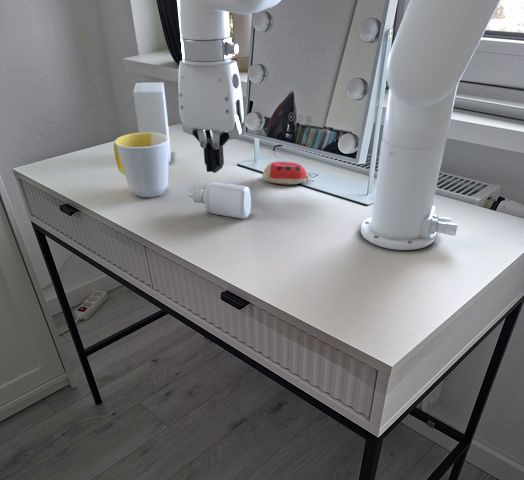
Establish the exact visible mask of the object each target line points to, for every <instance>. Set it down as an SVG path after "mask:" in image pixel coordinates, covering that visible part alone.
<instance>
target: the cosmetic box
mask: <svg viewBox="0 0 524 480" xmlns="http://www.w3.org/2000/svg"><path fill="white" fill-rule="evenodd" d="M132 93H133V99H134V106H135V114H136V121H137V128H138V133H141V132H152V133H160V134H163V135H166V136H167V137H168V138H169V162H168V164H171V160H172V158H171V157H172V149H171V148H172V147H171V139H170V129H169V119H168V112H167V111H168V110H167V101H166V92H165V84H164V82H163V81H159V82H136V83H135V86H134V88H133V91H132Z"/></svg>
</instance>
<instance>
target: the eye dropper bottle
mask: <svg viewBox="0 0 524 480" xmlns="http://www.w3.org/2000/svg"><path fill="white" fill-rule="evenodd" d="M187 196H188V197H189V198H191V199H192V200H193V202H194V203H198V204H204V206H205V208H206V210H207V211H208V212H209V213H210V214H212V215H217V216H224V217H228V218H229V217H230V218H236V219H243V220H246V219H247V218H248V217H249V216H250V214H251V209H252V197H251V191H250V188H249V187H248V186H246V185H241V184H240V185H239V184H232V183H225V182H216V181H211V182H209V183H207V184H206V185H205V189H201V188H195V189H194V190H193V191H192V192H188V193H187Z"/></svg>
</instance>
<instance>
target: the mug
mask: <svg viewBox="0 0 524 480" xmlns="http://www.w3.org/2000/svg"><path fill="white" fill-rule="evenodd" d="M113 152H114V157H115V158H114V159H115V162H116V166H117V169H118V171H119V172H120V173H121V174H122V175H124V176H125V179H126V182H127V186H128V188H129V189H130V191H132V193H133V194H135V195H136V196H138V197H140V198H154V197H158V196H161V195H163V193H164V192H165V191H166V189H167V188H168V186H169V163H168V162H169V138H168V137H167V136H166V135H163V134H160V133H152V132H141V133H139V132H132V133H127V134H124V135H121V136H119V137H117V138H116V139H115V140H114V142H113Z"/></svg>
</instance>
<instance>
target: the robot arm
mask: <svg viewBox="0 0 524 480" xmlns="http://www.w3.org/2000/svg"><path fill="white" fill-rule="evenodd" d="M281 1H282V0H176V3H177V13H178V25H179V33H180V43H181V54H182V59H181V60H180V61H179V66H178V80H177V81H178V91H177V92H178V107H179V108H178V109H179V117H180V121H181V123H182V131H183V132H184V133H186V134H188V135H191V136H194V138H195V139H196V140H197V141H198V143H199V147H201V148H202V149H203V159H204V165H205V168H206V172H207V173H214V174H216V173H218V172H219V171H220V170H222V169H223V166H224V163H225V159H224V158H225V157H224V146H225V145H226V143H227V142H228V141H229V140H236V139H238V138H240V137H242V136H243V131H242V127H241V125H243V124H244V121H245V109H244V97H243V89H242V82H241V77H240V71H239V67H238V63H237V61H236V59H232V58H233V55H237V54H239V45H238V43H234V42H232V37H231V29H230V13H232V14H236V15H243V16H244V15H245V16H248V15H254V14H257V13H260V12H262V11H265V10H267V9H268V10H269V9H271V8H273V7H275V6H277V5H278V4H279V3H280V2H281ZM500 1H501V0H409V1H408V4H407V7H406V9H405V11H404V15H403V17H402V20H401V22H400V25H399V27H398V30H397V32H396V35H395V38H394V40H393V42H392V44H391V47H390V50H389V52H388V54H387V55H388V56H387V59H386V67H385V76H386V82H387V85H388V93H387V99H386V108H385V114H384V119H383V120H384V122H383V130H382V135H381V143H380V149H379V158H378V163H377V164H378V166H377V173H376V180H375V188H374V195H373V203H372V209H371V210H372V211H371V216H368V217H367V218H365V219H364V220H363V221H362V223H361V225H360V233H361V235H362V237H363V238H364V239H365V240H366V241H367V242H369V243H371V244H373V245H375V246H377V247H381V248H384V249H389V250H395V251H396V250H397V251H414V250H420V249H423V248H426V247H429V246H430V245H432V244H433V243H434V242H435V240H436V238H437V235H438V234H443V235H445V236H446V235H447V236H454V237H456V233H457V229H458V225H459V224H458V223H454V222H452V218H451V217H445V216H444V217H442V216H438V214H435V210H436V206H434V201H435V196H436V191H437V186H438V182H439V177H440V172H441V167H442V162H443V158H444V152H445V148H446V143H447V139H448V135H449V131H450V125H451V120H452V115H453V111H454V106H455V100H456V94H457V90H458V85H459V83H460V81H461V80H462V77H463V75H464V74H465V72H466V70H467V68H468V66H469V64H470V62H471V60H472V58H473V56H474V54H475V52H476V50H477V48H478V46H479V44H480V42H481V40H482V38H483V36H484V34H485V32H486V30H487V28H488V26H489V24H490V22H491V20H492V18H493V16H494V14H495V12H496V10H497V8H498V6H499V4H500Z"/></svg>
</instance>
